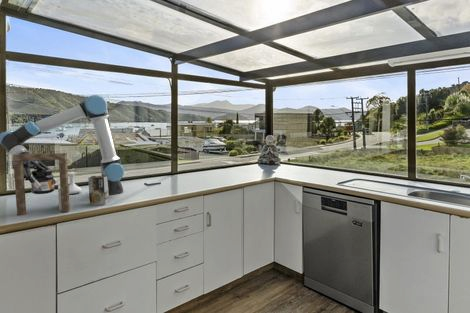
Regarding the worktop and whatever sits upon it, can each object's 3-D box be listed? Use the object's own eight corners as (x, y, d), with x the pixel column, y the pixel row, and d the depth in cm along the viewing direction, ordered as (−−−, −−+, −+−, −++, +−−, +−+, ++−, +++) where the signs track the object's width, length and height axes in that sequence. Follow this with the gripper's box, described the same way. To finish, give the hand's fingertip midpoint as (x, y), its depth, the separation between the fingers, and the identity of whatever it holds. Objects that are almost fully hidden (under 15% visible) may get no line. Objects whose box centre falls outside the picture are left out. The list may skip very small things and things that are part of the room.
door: (66, 210, 161) (65, 187, 160) (59, 210, 159) (58, 188, 158) (66, 203, 174) (65, 183, 173) (60, 204, 173) (58, 183, 171)
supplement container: (46, 194, 159) (45, 172, 158) (26, 194, 159) (25, 171, 158) (58, 190, 169) (57, 169, 168) (40, 190, 169) (38, 169, 168)
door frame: (69, 210, 162) (66, 153, 158) (68, 212, 159) (64, 153, 156) (19, 213, 156) (15, 154, 153) (17, 215, 153) (12, 154, 150)
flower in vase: (83, 191, 211) (81, 155, 209) (80, 194, 200) (78, 157, 198) (62, 192, 207) (60, 156, 205) (58, 195, 197) (55, 157, 194)
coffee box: (109, 202, 180) (108, 175, 178) (105, 205, 173) (104, 177, 172) (94, 202, 180) (92, 175, 178) (89, 205, 173) (87, 177, 172)
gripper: (35, 158, 177) (59, 185, 175) (-3, 162, 154) (25, 194, 153) (42, 149, 175) (67, 176, 173) (5, 152, 153) (33, 184, 151)
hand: (47, 184), depth 163 cm, fingers closed on supplement container, 10 cm apart
